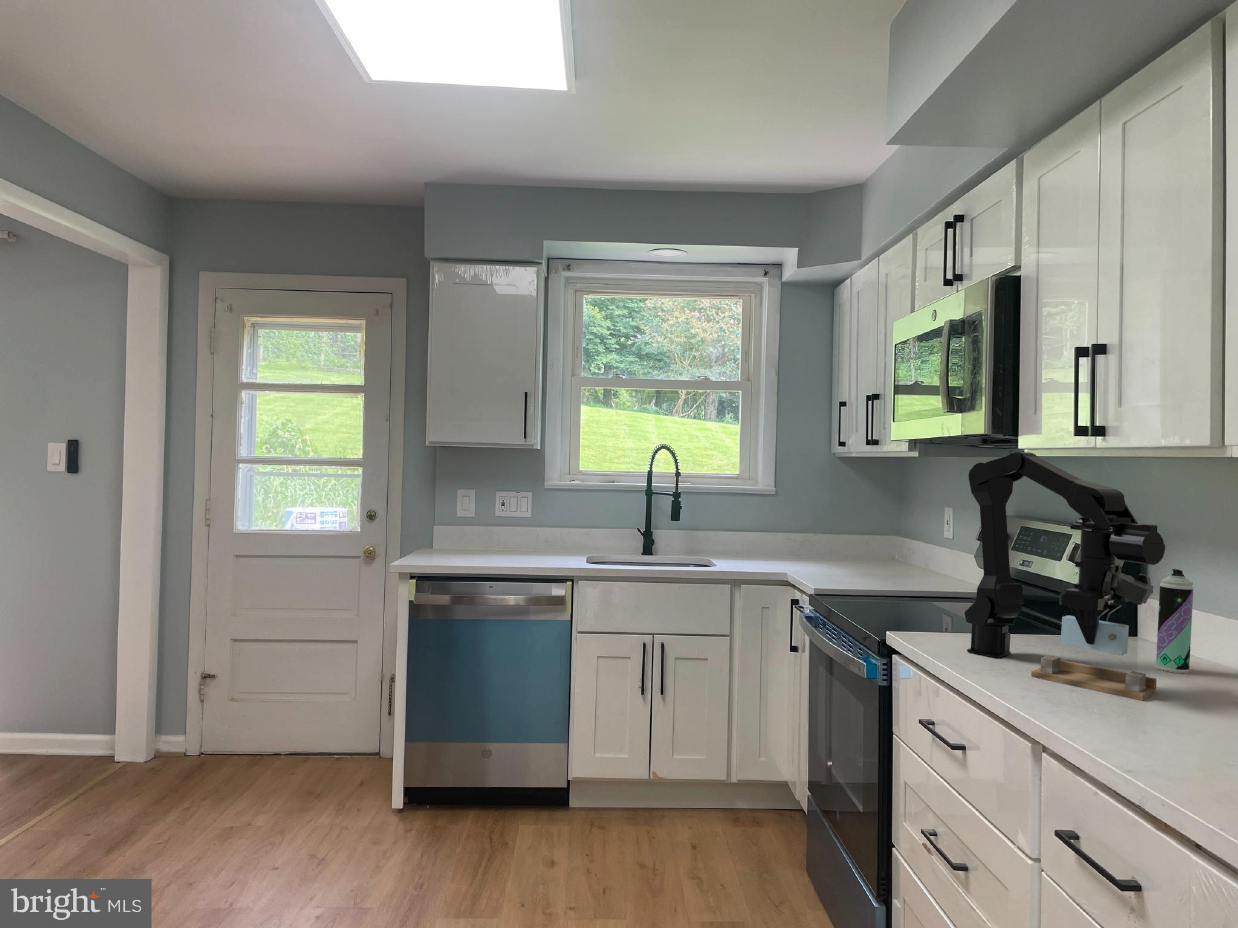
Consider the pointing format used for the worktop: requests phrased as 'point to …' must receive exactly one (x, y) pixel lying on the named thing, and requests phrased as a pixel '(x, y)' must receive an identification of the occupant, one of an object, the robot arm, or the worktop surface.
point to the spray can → (1174, 623)
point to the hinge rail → (1096, 678)
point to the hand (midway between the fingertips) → (1093, 642)
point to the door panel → (1107, 636)
